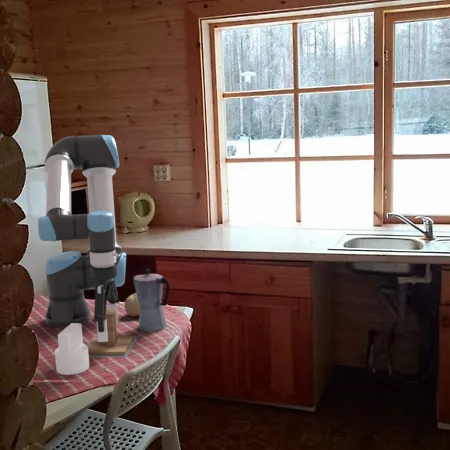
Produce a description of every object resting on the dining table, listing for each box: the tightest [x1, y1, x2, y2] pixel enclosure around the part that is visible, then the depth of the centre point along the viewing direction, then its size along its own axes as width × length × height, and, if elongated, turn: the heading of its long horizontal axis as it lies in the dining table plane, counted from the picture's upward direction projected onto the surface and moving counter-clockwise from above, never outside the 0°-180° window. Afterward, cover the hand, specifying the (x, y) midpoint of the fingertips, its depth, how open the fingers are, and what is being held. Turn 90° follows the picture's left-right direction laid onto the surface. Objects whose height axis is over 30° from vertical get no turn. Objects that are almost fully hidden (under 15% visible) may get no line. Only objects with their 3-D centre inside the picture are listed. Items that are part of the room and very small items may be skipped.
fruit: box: [124, 292, 140, 317], centre depth 204 cm, size 8×8×8 cm
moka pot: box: [132, 268, 171, 333], centre depth 191 cm, size 10×15×20 cm, turn 59°
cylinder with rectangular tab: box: [54, 323, 90, 376], centre depth 163 cm, size 9×9×12 cm
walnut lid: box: [87, 309, 134, 355], centre depth 177 cm, size 12×12×11 cm
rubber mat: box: [87, 336, 138, 359], centre depth 178 cm, size 15×14×1 cm
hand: (108, 332), depth 177 cm, fingers open, 13 cm apart
